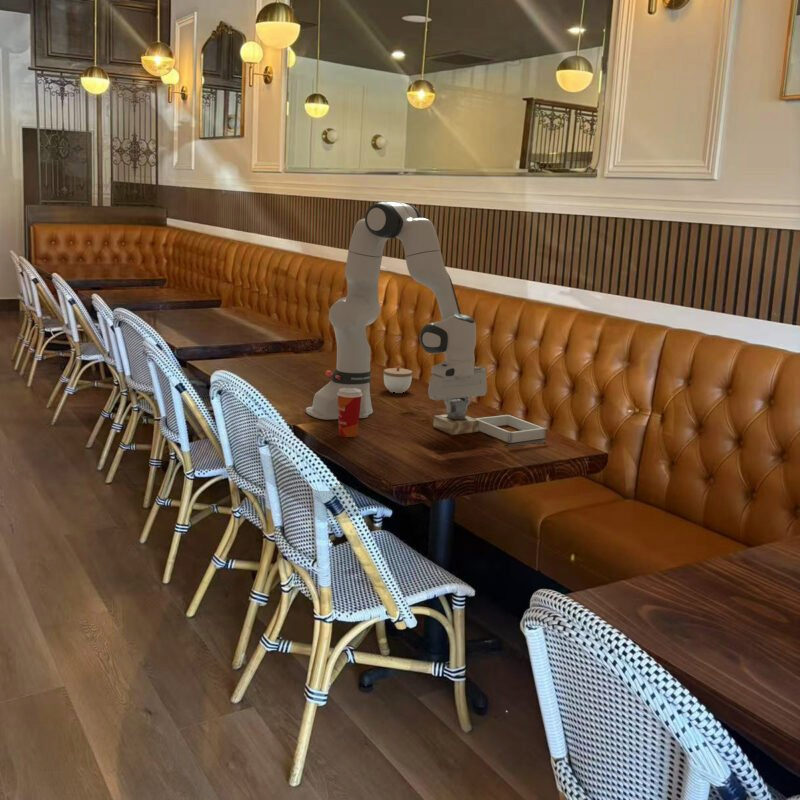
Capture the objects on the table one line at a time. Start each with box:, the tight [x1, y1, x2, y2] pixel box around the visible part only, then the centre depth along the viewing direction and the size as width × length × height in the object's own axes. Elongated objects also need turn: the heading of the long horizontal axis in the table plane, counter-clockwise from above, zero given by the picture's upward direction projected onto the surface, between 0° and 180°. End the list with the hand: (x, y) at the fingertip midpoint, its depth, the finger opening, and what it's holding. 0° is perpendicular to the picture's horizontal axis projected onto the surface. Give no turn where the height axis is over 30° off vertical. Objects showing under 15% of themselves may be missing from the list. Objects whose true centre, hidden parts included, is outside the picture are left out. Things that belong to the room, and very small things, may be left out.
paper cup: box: [337, 388, 362, 438], centre depth 263 cm, size 8×8×14 cm
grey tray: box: [474, 414, 547, 448], centre depth 270 cm, size 14×18×4 cm
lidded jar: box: [383, 365, 413, 394], centre depth 325 cm, size 11×11×9 cm
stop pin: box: [447, 399, 467, 421], centre depth 271 cm, size 4×4×9 cm
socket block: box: [432, 413, 479, 436], centre depth 271 cm, size 10×10×5 cm
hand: (456, 411), depth 270 cm, fingers closed on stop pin, 4 cm apart
